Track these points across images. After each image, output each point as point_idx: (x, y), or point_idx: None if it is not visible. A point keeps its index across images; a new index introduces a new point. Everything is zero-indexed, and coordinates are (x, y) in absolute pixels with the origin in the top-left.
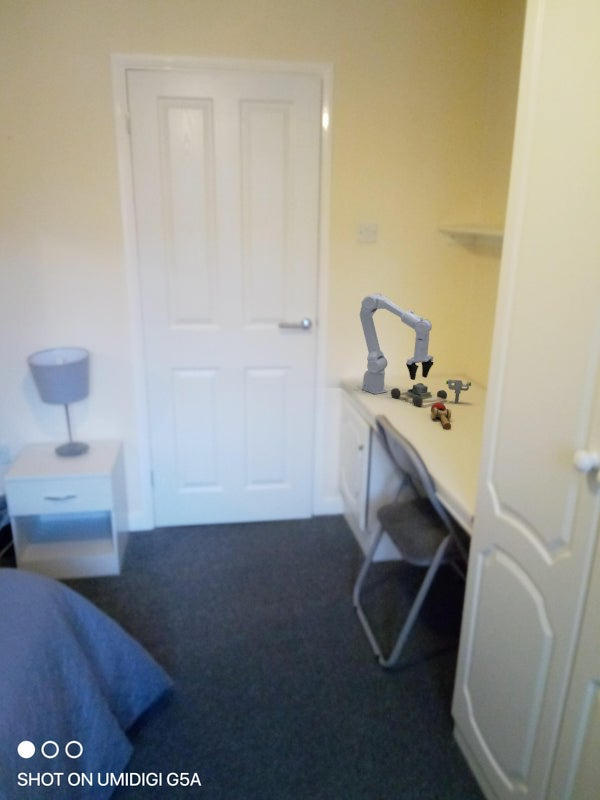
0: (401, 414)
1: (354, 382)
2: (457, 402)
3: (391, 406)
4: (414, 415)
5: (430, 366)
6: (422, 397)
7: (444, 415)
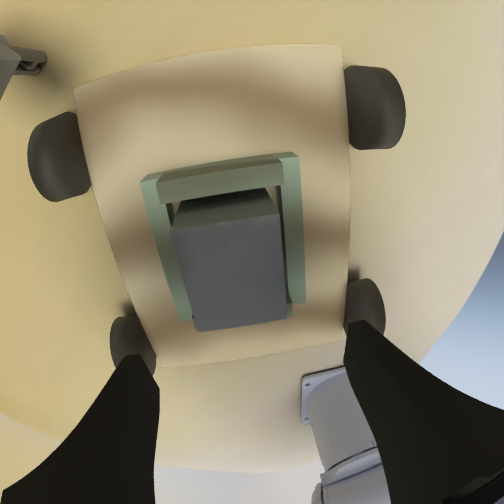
0: (491, 71)
1: None
2: (35, 51)
3: (462, 185)
4: (456, 16)
5: (54, 477)
6: (266, 157)
7: None
